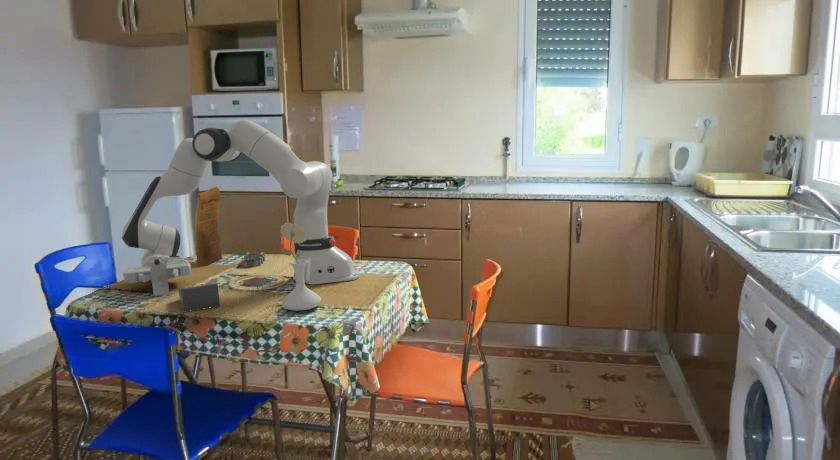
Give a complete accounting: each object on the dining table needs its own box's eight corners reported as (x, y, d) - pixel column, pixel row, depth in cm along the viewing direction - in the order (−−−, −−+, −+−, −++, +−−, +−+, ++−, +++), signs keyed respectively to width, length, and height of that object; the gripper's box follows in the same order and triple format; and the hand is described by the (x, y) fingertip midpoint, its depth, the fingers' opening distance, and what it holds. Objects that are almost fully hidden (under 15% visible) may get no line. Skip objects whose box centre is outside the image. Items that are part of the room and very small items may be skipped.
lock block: (153, 292, 203) (148, 259, 201) (168, 290, 205) (164, 257, 202) (154, 297, 198) (149, 262, 196) (169, 295, 200) (165, 260, 198)
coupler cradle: (179, 299, 194) (177, 278, 193) (213, 294, 198) (211, 273, 197) (184, 312, 182) (181, 289, 181) (219, 306, 186) (217, 284, 185)
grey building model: (248, 260, 242) (247, 250, 242) (268, 260, 242) (267, 250, 241) (239, 267, 232) (238, 257, 231) (259, 267, 231) (258, 256, 231)
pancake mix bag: (232, 256, 250) (225, 186, 244) (206, 268, 231) (198, 193, 226) (216, 255, 251) (209, 186, 246) (189, 268, 233) (181, 193, 227)
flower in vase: (330, 306, 183) (324, 221, 178) (298, 316, 175) (291, 228, 170) (302, 298, 192) (296, 217, 187) (270, 308, 183) (263, 223, 178)
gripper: (121, 263, 207) (122, 272, 195) (187, 255, 216) (191, 263, 203) (124, 281, 208) (124, 292, 196) (189, 272, 217) (193, 282, 205)
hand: (159, 277), depth 200 cm, fingers open, 7 cm apart
